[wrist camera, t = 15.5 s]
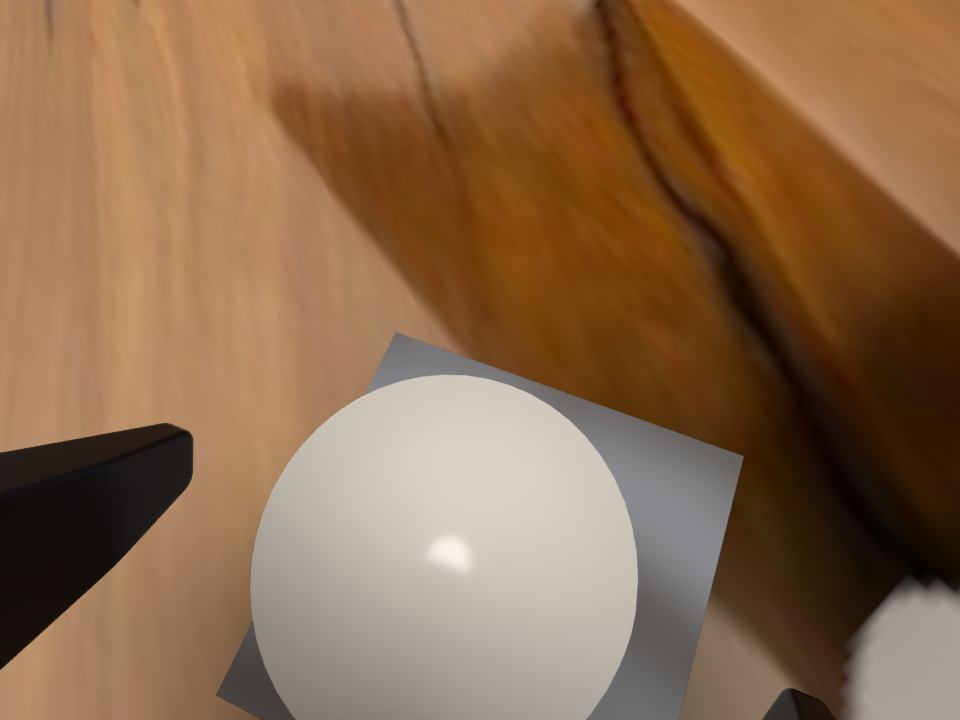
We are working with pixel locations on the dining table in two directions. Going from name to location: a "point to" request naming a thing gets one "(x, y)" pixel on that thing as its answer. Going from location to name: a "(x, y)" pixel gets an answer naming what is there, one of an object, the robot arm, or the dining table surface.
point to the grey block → (656, 527)
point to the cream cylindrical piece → (444, 561)
